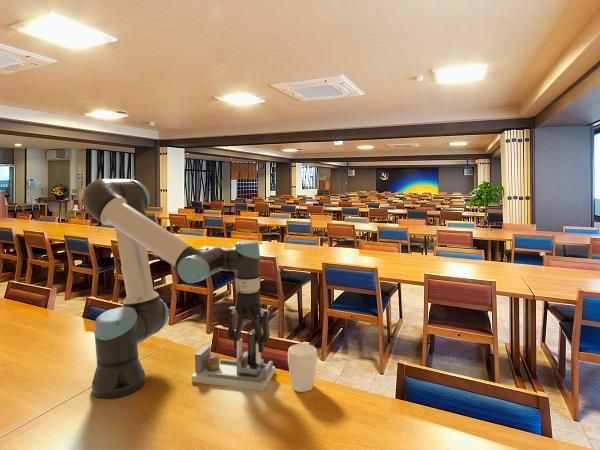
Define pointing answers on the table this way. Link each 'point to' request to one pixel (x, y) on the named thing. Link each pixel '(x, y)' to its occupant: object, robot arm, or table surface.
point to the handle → (250, 359)
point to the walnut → (213, 362)
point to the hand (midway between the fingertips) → (249, 360)
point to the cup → (302, 366)
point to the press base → (229, 373)
